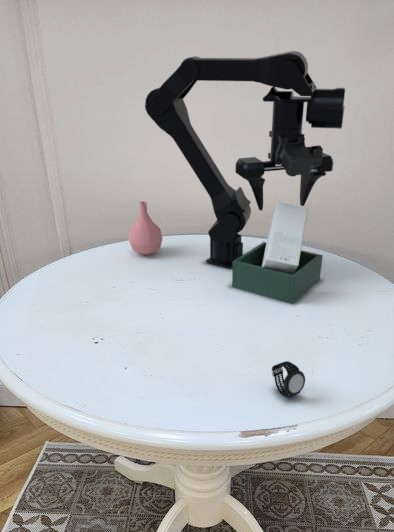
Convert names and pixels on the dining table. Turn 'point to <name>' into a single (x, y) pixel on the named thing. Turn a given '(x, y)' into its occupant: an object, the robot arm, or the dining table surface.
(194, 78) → the robot arm
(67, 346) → the dining table surface
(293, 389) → the smartwatch
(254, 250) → the green storage bin
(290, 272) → the small box
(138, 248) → the pink vase
